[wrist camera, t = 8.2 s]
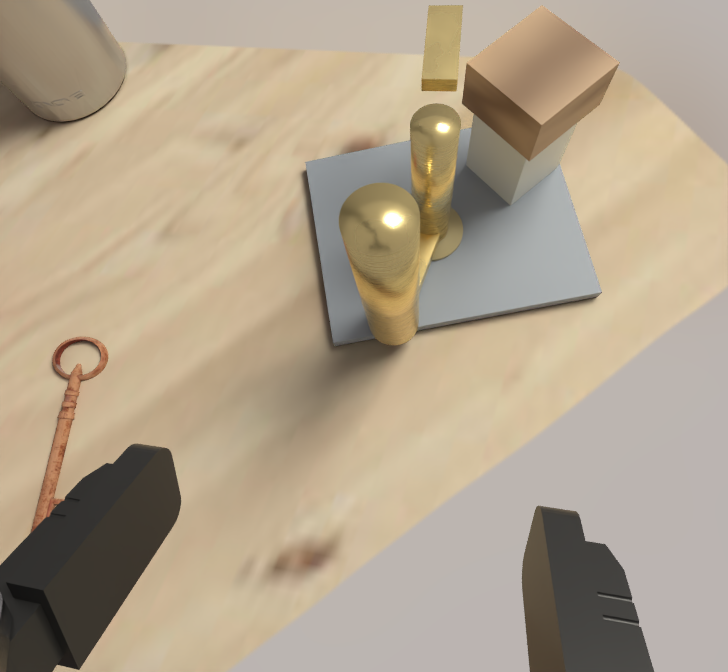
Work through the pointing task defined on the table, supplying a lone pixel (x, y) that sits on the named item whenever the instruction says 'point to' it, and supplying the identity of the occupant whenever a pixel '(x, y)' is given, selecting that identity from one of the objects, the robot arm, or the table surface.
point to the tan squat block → (537, 82)
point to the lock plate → (465, 233)
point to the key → (63, 426)
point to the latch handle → (409, 199)
